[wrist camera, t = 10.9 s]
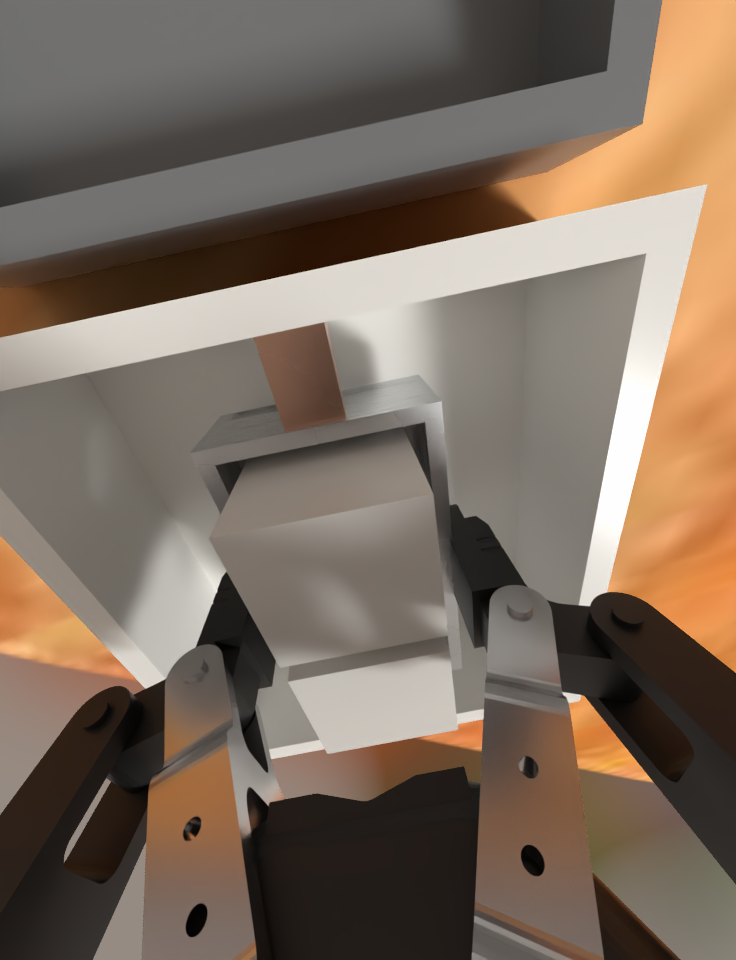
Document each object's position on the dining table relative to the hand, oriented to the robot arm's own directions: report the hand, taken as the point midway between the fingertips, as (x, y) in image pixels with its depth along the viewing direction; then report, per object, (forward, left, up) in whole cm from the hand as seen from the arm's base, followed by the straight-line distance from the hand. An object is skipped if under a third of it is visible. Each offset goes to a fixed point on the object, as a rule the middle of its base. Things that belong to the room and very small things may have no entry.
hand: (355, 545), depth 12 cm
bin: (0, 0, -3) cm, 3 cm away
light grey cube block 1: (-2, 0, 0) cm, 2 cm away
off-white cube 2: (+2, 0, 0) cm, 2 cm away
